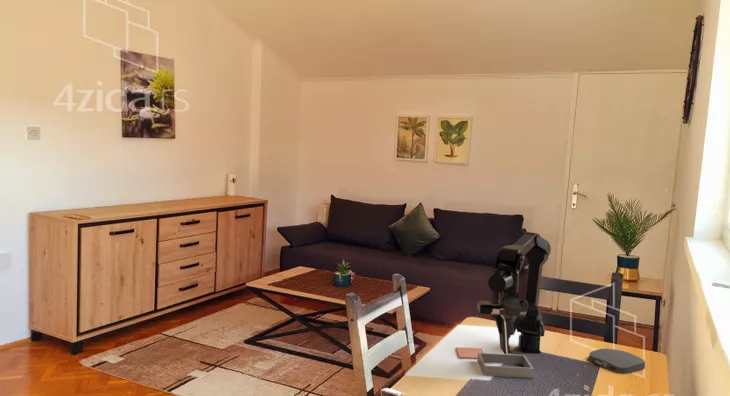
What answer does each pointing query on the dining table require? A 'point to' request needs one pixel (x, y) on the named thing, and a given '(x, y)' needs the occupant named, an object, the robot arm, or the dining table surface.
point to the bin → (505, 370)
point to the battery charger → (506, 334)
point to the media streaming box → (617, 360)
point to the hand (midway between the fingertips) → (506, 334)
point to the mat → (468, 352)
